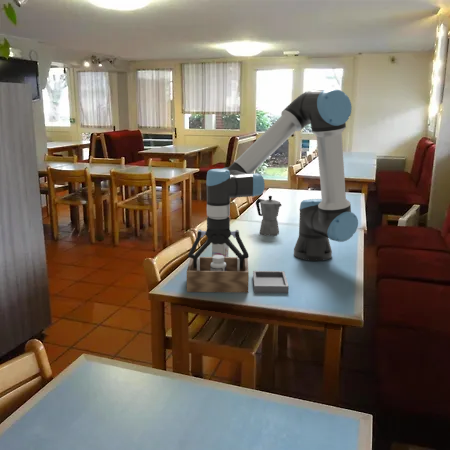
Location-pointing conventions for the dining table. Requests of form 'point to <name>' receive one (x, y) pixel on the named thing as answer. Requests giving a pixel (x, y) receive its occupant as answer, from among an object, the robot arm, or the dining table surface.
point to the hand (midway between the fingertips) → (218, 277)
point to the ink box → (220, 249)
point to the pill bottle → (218, 263)
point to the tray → (270, 282)
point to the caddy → (217, 276)
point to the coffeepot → (268, 216)
